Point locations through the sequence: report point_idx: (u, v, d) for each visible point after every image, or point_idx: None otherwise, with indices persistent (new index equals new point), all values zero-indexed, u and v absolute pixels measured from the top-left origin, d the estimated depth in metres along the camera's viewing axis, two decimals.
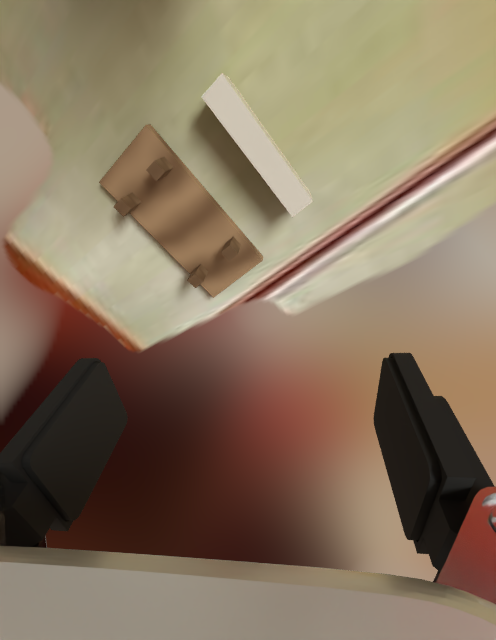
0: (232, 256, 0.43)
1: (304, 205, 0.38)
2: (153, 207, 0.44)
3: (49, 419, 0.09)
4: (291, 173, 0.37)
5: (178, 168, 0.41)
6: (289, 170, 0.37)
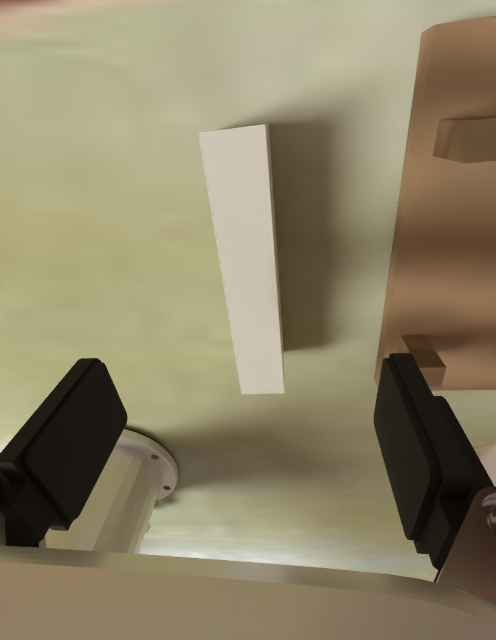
0: (494, 124, 0.13)
1: (222, 135, 0.14)
2: None
3: (49, 419, 0.09)
4: (216, 223, 0.16)
5: (395, 330, 0.23)
6: (217, 231, 0.17)
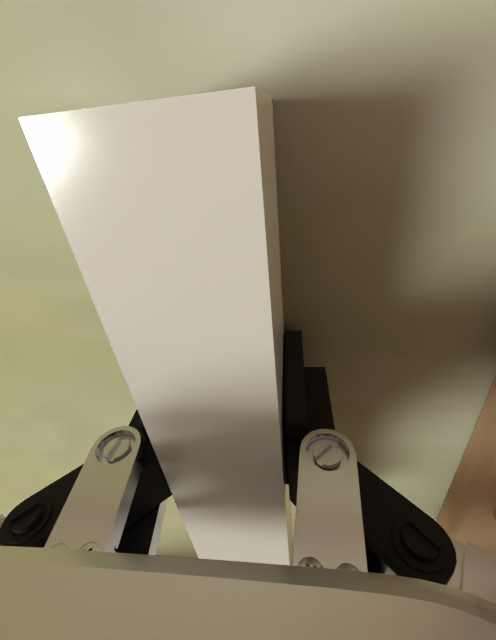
0: None
1: (102, 128, 0.04)
2: None
3: None
4: (127, 364, 0.06)
5: None
6: (132, 380, 0.06)
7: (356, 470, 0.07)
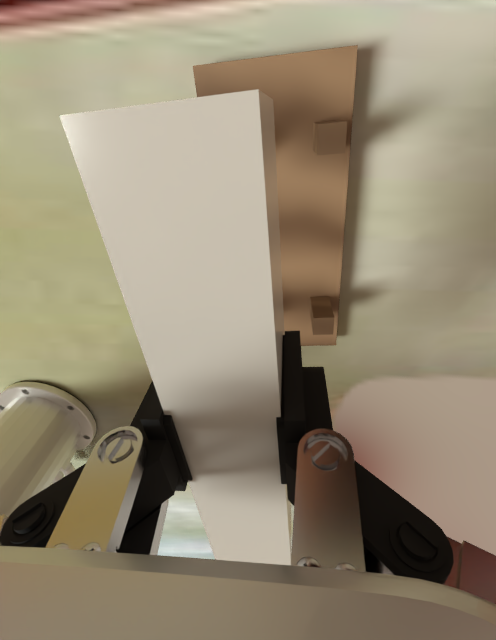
0: None
1: (130, 124, 0.05)
2: (301, 281, 0.27)
3: None
4: (144, 335, 0.07)
5: None
6: (148, 350, 0.07)
7: (354, 470, 0.07)
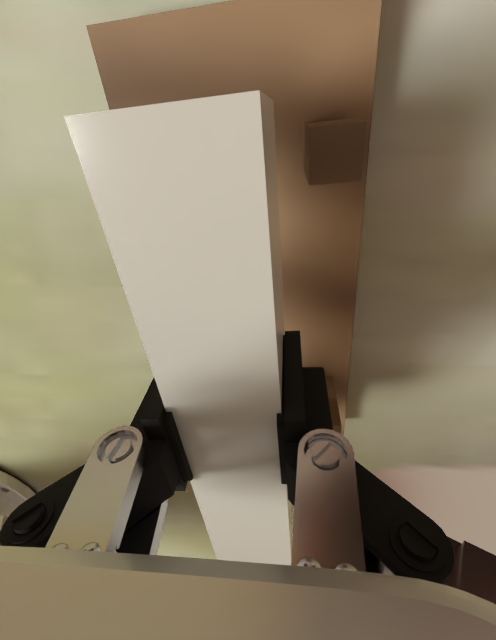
0: None
1: (133, 125, 0.05)
2: None
3: None
4: (146, 332, 0.07)
5: None
6: (150, 348, 0.07)
7: (354, 470, 0.07)
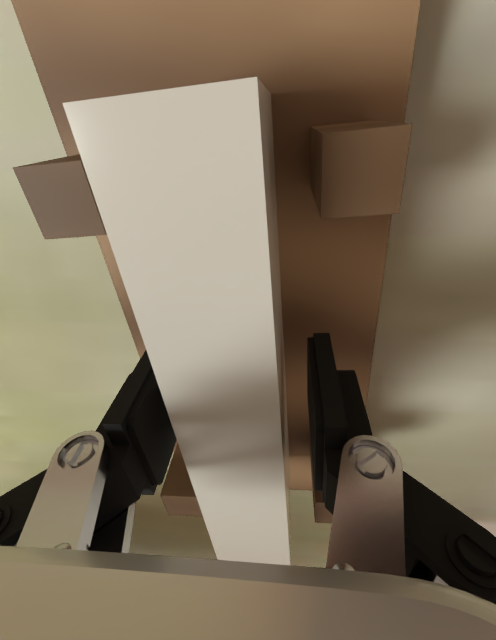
0: (49, 174, 0.07)
1: (131, 112, 0.05)
2: (294, 409, 0.15)
3: (141, 388, 0.09)
4: (144, 323, 0.07)
5: None
6: (148, 338, 0.07)
7: (401, 483, 0.06)
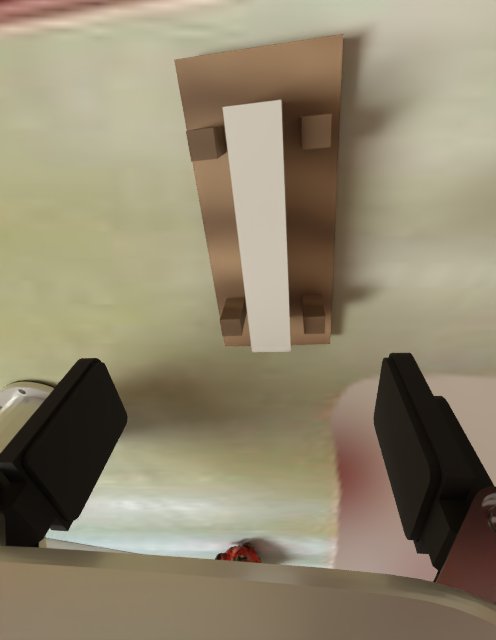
0: (199, 133, 0.19)
1: (243, 109, 0.16)
2: (293, 279, 0.27)
3: (49, 419, 0.09)
4: (235, 190, 0.19)
5: (221, 293, 0.28)
6: (235, 197, 0.19)
7: None
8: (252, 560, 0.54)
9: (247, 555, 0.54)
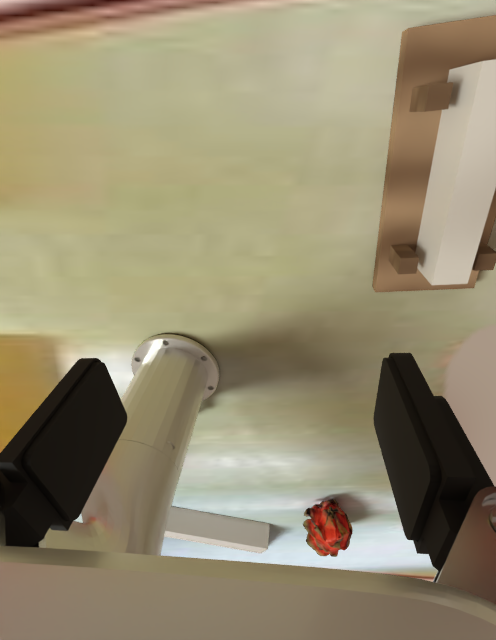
0: (440, 87, 0.23)
1: None
2: None
3: (49, 419, 0.09)
4: (468, 133, 0.23)
5: (386, 240, 0.32)
6: (467, 140, 0.23)
7: None
8: (342, 513, 0.58)
9: (337, 508, 0.58)
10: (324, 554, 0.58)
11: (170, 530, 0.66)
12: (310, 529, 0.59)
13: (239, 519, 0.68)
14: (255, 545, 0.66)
